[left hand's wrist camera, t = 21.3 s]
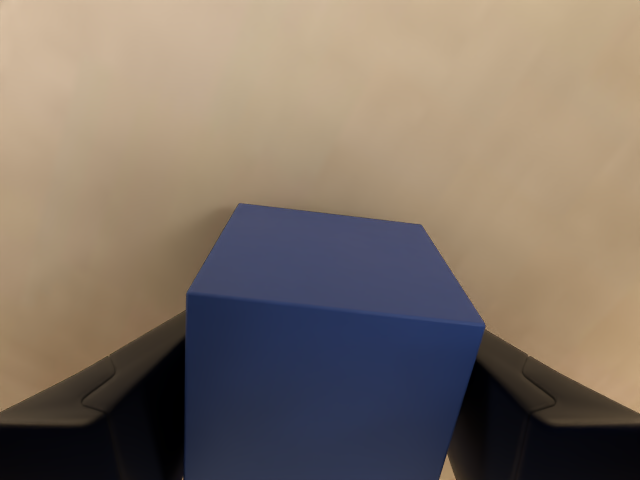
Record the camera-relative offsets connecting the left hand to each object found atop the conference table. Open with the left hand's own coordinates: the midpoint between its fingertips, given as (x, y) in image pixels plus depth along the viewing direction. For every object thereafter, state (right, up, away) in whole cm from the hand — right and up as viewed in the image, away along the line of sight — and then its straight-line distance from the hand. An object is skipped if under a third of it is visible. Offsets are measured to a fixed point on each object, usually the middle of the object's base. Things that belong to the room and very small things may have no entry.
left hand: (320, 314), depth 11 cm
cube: (0, 0, +1) cm, 1 cm away
